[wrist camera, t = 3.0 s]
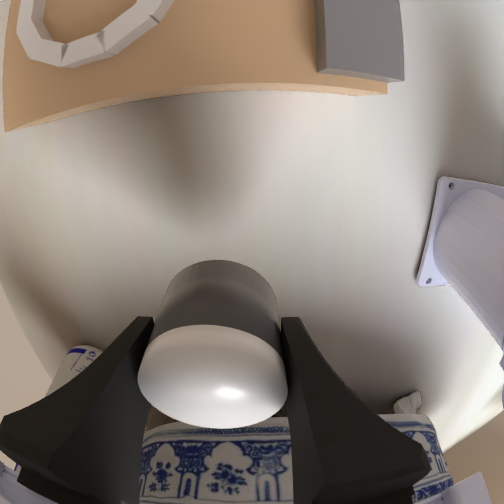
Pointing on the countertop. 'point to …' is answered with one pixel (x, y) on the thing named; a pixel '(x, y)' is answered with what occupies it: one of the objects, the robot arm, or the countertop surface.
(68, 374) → the white and blue canister
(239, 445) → the decorative bowl
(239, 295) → the white domed push button
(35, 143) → the countertop surface
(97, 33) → the tan flat ringed block
